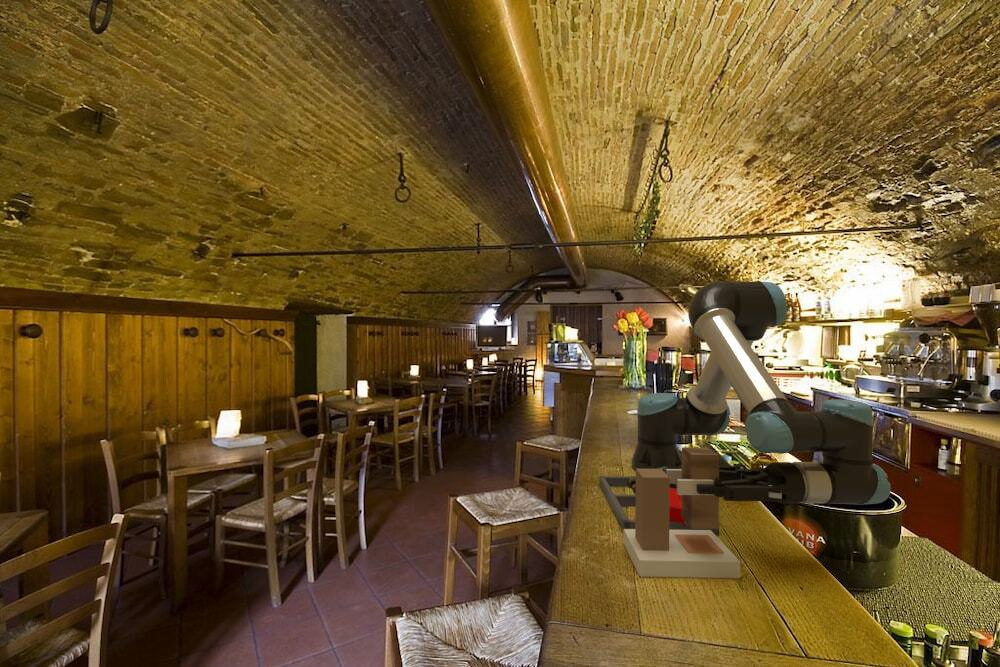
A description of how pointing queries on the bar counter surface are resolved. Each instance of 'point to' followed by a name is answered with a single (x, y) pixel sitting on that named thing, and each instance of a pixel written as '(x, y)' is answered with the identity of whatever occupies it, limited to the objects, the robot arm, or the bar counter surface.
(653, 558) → the base board
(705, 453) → the walnut pillar
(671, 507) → the french fries container
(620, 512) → the charcoal tray rim
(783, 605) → the bar counter surface
